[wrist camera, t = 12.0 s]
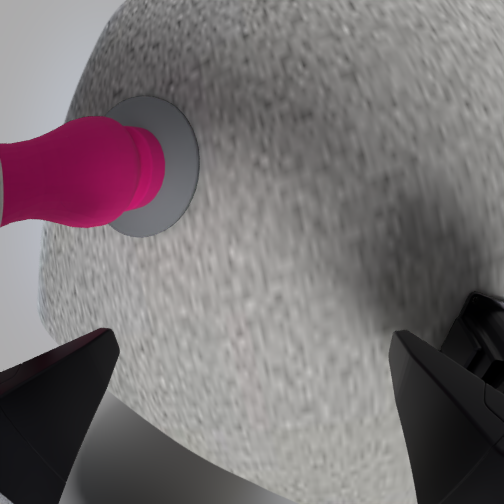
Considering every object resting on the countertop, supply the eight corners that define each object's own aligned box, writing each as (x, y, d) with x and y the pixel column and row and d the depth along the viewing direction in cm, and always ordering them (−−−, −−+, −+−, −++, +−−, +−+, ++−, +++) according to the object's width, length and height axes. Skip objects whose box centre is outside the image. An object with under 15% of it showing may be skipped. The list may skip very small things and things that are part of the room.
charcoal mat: (213, 101, 18) (209, 100, 17) (186, 252, 22) (182, 255, 21) (102, 97, 20) (97, 96, 20) (87, 217, 24) (82, 219, 24)
